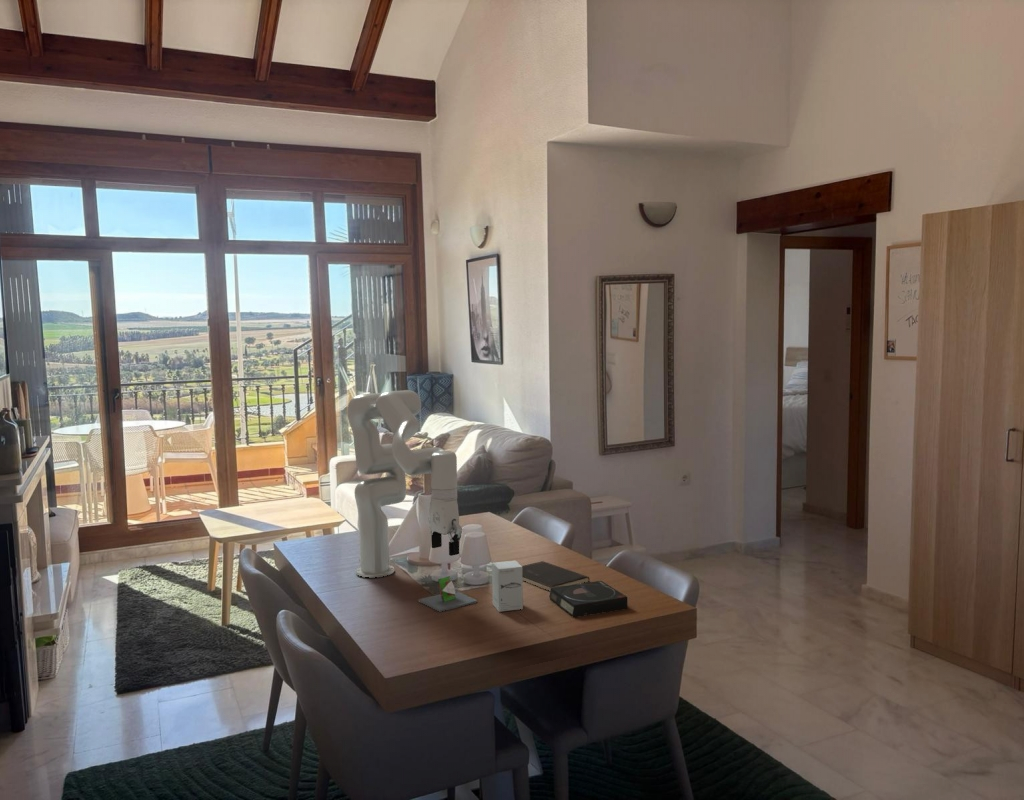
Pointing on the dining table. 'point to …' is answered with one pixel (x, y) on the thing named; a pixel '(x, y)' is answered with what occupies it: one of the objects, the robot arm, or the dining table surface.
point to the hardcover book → (550, 575)
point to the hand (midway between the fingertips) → (445, 550)
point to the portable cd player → (588, 598)
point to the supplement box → (507, 585)
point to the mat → (447, 602)
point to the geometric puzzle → (446, 589)
